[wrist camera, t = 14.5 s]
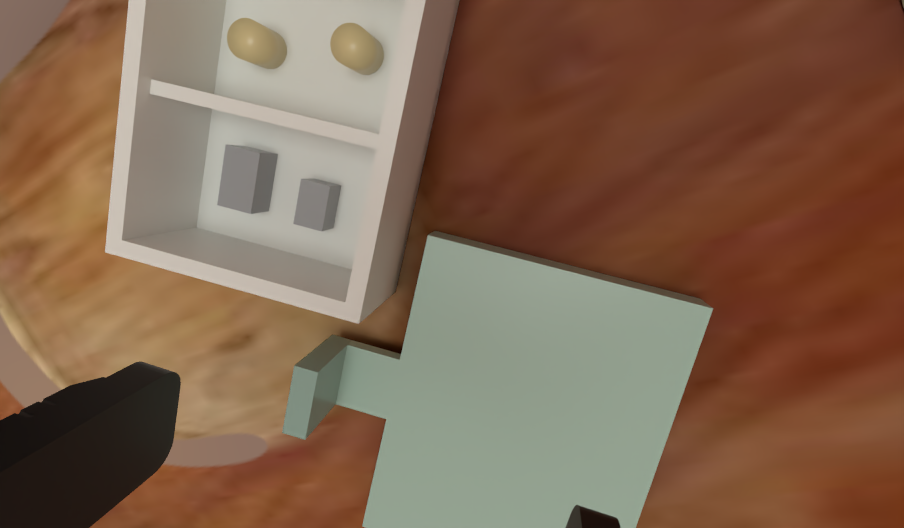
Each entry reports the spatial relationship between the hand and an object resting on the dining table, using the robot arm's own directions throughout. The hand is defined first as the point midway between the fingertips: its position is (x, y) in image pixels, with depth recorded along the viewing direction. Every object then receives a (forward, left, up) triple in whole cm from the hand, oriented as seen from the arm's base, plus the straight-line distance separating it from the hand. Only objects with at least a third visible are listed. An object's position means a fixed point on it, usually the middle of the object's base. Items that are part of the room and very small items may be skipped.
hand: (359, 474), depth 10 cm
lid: (+10, +3, -26) cm, 28 cm away
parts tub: (-6, -14, -26) cm, 30 cm away
